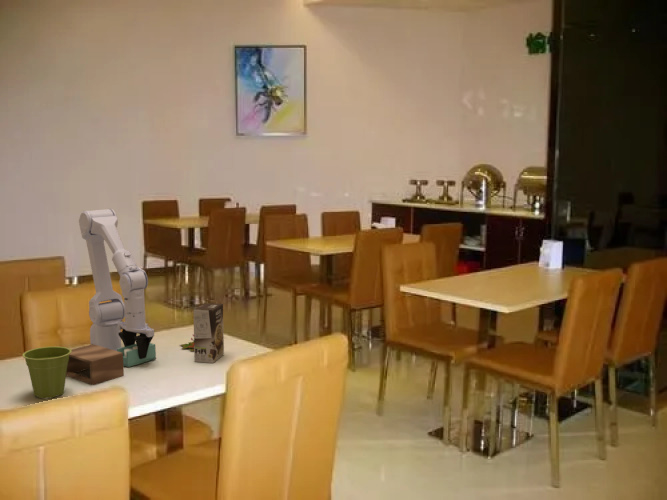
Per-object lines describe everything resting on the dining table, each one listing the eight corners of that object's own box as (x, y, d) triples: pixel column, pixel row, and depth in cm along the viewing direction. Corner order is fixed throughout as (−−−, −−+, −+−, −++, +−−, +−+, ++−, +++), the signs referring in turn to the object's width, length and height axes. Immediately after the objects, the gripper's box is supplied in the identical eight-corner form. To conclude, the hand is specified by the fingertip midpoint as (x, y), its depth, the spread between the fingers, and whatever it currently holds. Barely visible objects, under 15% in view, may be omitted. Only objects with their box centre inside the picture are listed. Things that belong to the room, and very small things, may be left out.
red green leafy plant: (172, 346, 237) (171, 333, 236) (206, 340, 244) (206, 327, 243) (188, 355, 227) (188, 341, 226) (223, 349, 234) (223, 335, 233)
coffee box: (214, 363, 218) (213, 310, 216) (193, 362, 220) (192, 309, 217) (224, 354, 227) (223, 303, 225) (205, 353, 228) (203, 302, 226)
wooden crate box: (63, 374, 208) (61, 352, 207) (93, 366, 215) (92, 344, 214) (93, 385, 199) (91, 361, 198) (123, 375, 207) (122, 352, 206)
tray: (117, 363, 217) (117, 348, 216) (145, 355, 225) (144, 341, 224) (128, 367, 214) (127, 351, 213) (155, 358, 222) (155, 344, 221)
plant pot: (78, 396, 191) (76, 354, 189) (30, 405, 184) (27, 362, 183) (67, 383, 200) (65, 343, 199) (21, 391, 194) (18, 350, 192)
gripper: (161, 312, 216) (163, 357, 218) (130, 305, 224) (132, 348, 226) (142, 317, 210) (144, 363, 212) (110, 309, 219) (112, 354, 221)
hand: (136, 356), depth 219 cm, fingers closed on tray, 5 cm apart
